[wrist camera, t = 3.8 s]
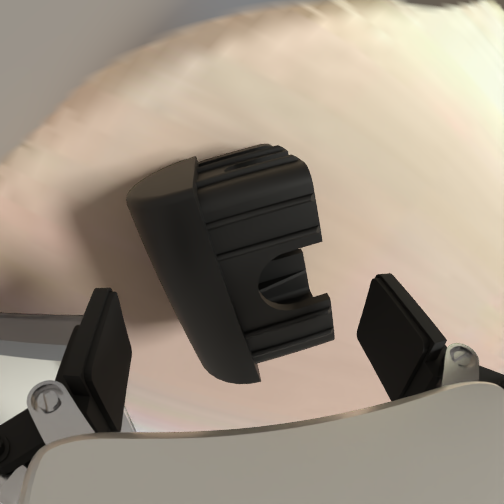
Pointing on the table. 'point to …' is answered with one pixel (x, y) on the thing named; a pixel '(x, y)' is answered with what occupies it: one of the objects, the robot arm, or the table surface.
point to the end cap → (236, 255)
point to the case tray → (33, 357)
